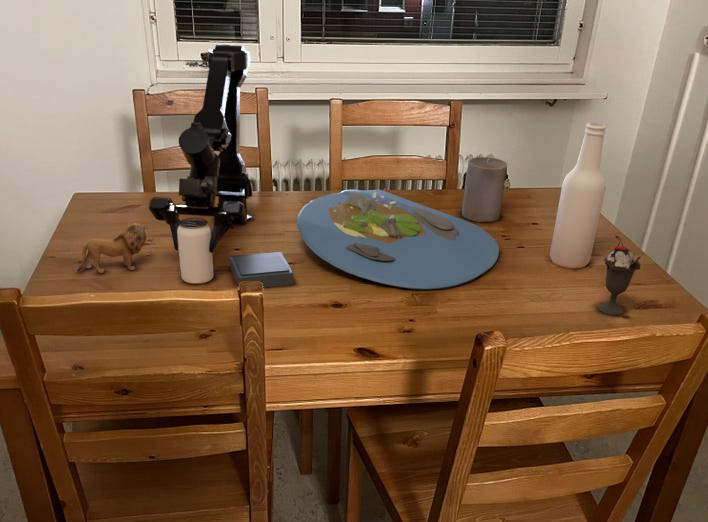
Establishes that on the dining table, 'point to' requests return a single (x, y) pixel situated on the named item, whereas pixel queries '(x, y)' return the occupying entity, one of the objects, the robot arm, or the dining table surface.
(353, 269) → the serving platter
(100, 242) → the lion figurine
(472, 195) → the pillar candle
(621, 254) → the sundae
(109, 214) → the dining table surface
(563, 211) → the alcohol
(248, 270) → the riser
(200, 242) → the can
